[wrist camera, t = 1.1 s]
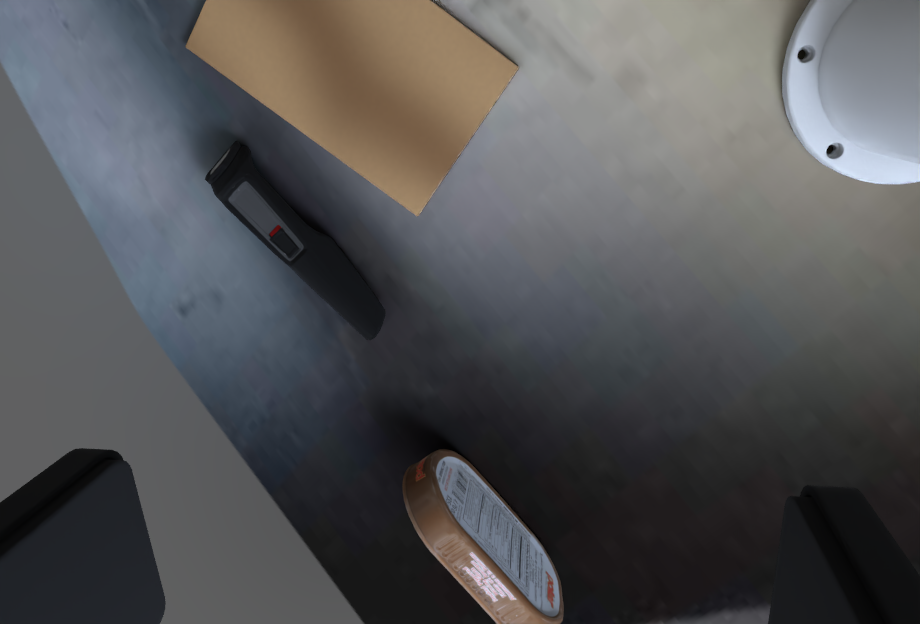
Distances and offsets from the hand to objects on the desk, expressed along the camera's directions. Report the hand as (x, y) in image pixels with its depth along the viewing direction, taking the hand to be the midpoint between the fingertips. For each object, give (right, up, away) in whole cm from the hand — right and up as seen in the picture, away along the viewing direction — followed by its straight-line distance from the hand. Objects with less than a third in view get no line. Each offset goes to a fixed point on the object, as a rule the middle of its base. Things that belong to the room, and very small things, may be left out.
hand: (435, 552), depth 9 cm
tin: (+3, -11, +39) cm, 41 cm away
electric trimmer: (-10, +9, +35) cm, 37 cm away
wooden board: (-6, +19, +30) cm, 36 cm away
